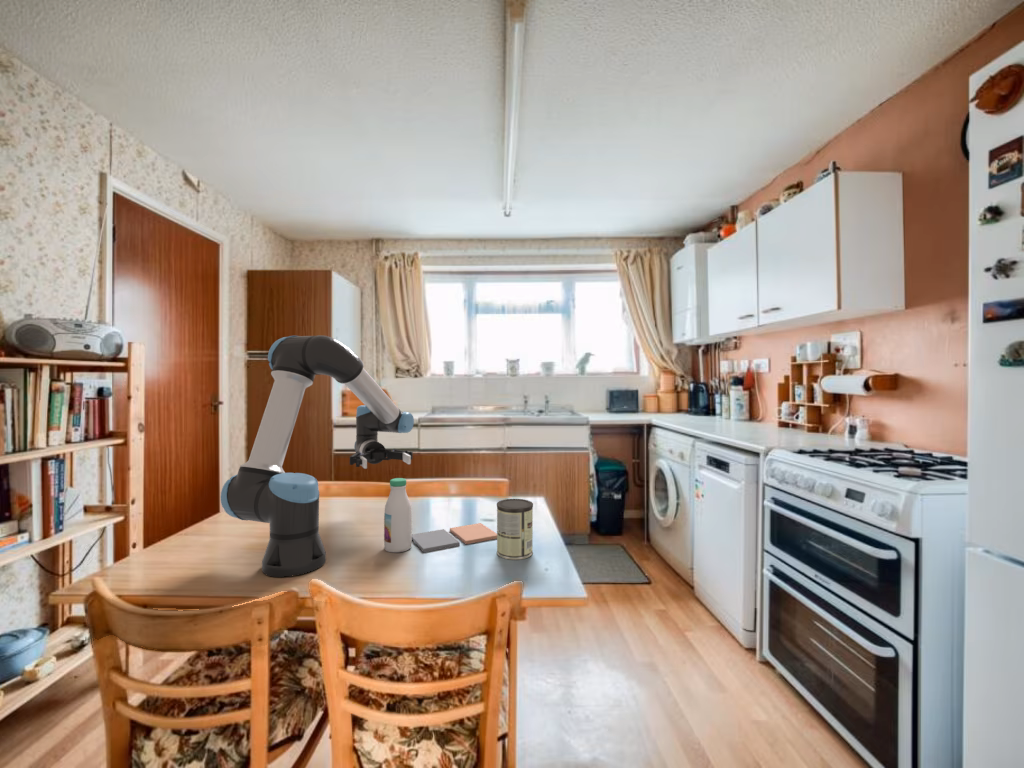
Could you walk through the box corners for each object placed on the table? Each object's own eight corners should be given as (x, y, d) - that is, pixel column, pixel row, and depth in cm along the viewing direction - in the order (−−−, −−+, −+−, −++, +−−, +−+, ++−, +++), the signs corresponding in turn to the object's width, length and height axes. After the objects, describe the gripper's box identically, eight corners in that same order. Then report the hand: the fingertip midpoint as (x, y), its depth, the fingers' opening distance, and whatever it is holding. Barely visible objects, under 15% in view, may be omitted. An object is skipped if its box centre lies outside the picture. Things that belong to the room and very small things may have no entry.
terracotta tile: (465, 544, 136) (465, 540, 136) (449, 531, 147) (449, 528, 147) (498, 538, 141) (498, 534, 141) (480, 525, 153) (480, 522, 153)
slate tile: (423, 552, 130) (423, 548, 130) (410, 537, 141) (410, 534, 141) (459, 545, 135) (459, 542, 135) (443, 532, 146) (443, 529, 146)
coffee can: (498, 545, 135) (499, 497, 135) (533, 546, 134) (534, 499, 134) (494, 559, 125) (494, 507, 125) (531, 561, 124) (532, 509, 124)
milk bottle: (413, 543, 137) (414, 476, 136) (408, 553, 129) (409, 482, 129) (387, 543, 136) (387, 476, 136) (381, 553, 129) (381, 482, 128)
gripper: (407, 459, 167) (426, 470, 149) (335, 465, 155) (346, 478, 137) (407, 438, 167) (426, 447, 149) (335, 443, 155) (346, 453, 137)
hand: (388, 462), depth 143 cm, fingers open, 13 cm apart
